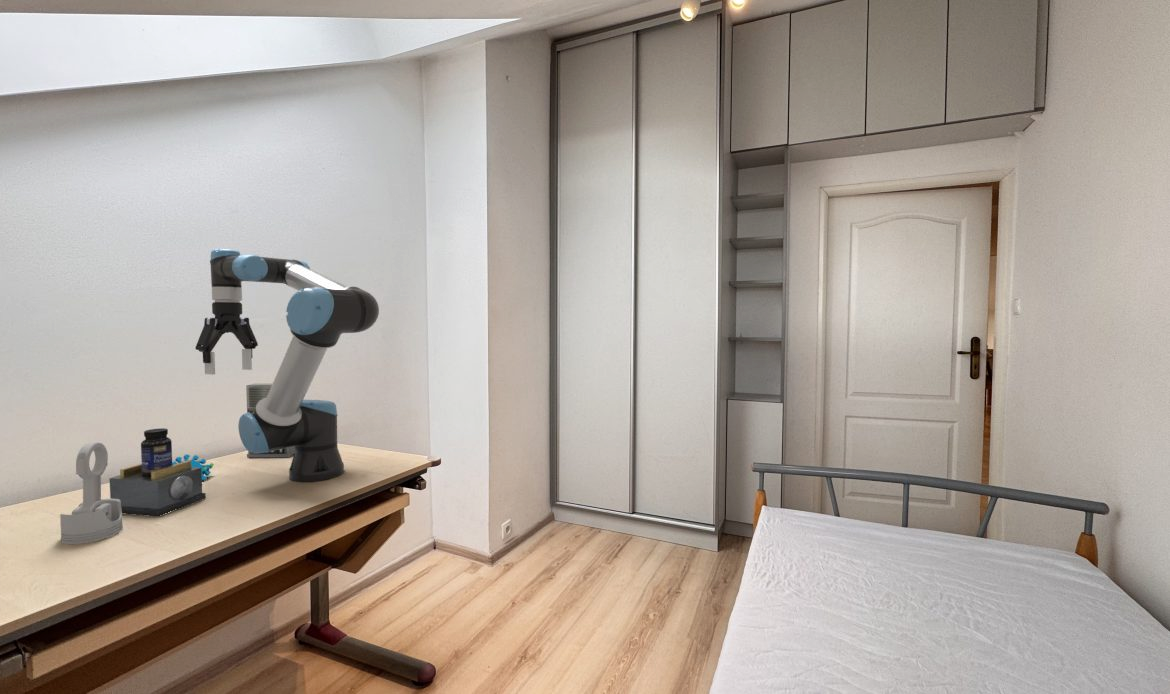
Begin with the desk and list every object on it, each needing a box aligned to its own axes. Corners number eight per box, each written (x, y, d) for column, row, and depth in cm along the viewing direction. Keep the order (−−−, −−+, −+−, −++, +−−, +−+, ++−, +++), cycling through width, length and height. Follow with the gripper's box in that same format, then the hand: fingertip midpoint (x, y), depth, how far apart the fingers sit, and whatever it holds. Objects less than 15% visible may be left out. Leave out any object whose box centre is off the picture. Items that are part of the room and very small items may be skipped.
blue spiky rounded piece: (177, 483, 147) (168, 454, 151) (168, 495, 149) (159, 467, 153) (220, 478, 157) (210, 451, 161) (210, 490, 159) (201, 463, 163)
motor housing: (205, 498, 140) (204, 459, 140) (159, 516, 127) (157, 474, 127) (157, 494, 143) (156, 456, 142) (107, 512, 130) (105, 470, 129)
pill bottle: (156, 476, 131) (154, 433, 131) (135, 475, 132) (133, 432, 131) (178, 469, 137) (177, 428, 137) (158, 468, 138) (156, 427, 138)
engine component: (49, 546, 111) (107, 541, 114) (44, 451, 110) (102, 448, 112) (82, 526, 121) (134, 522, 124) (77, 439, 120) (130, 437, 123)
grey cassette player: (246, 458, 179) (244, 385, 177) (256, 453, 185) (254, 383, 183) (288, 458, 180) (287, 385, 178) (297, 453, 186) (295, 383, 184)
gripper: (248, 302, 171) (250, 367, 172) (178, 300, 146) (180, 376, 147) (269, 302, 169) (271, 368, 171) (201, 300, 145) (204, 376, 146)
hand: (229, 371), depth 159 cm, fingers open, 13 cm apart
